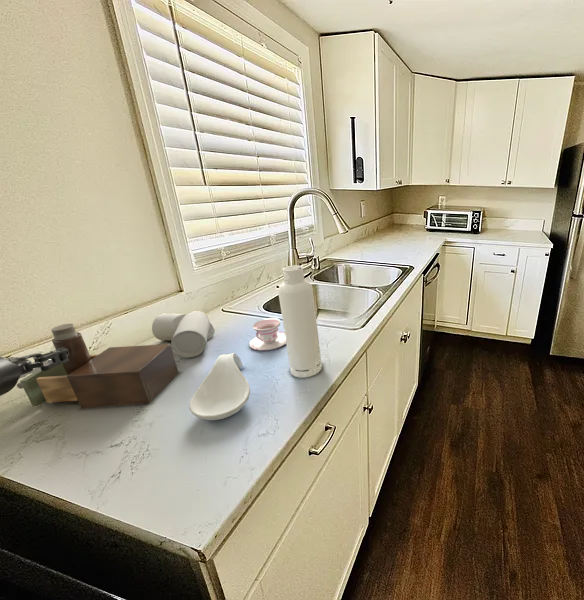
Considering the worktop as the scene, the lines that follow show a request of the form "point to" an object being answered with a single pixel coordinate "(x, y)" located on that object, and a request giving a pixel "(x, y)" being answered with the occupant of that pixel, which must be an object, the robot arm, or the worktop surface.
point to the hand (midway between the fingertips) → (39, 356)
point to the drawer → (48, 386)
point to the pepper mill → (71, 346)
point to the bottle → (299, 322)
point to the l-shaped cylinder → (184, 332)
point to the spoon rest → (221, 390)
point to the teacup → (267, 335)
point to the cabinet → (124, 376)
